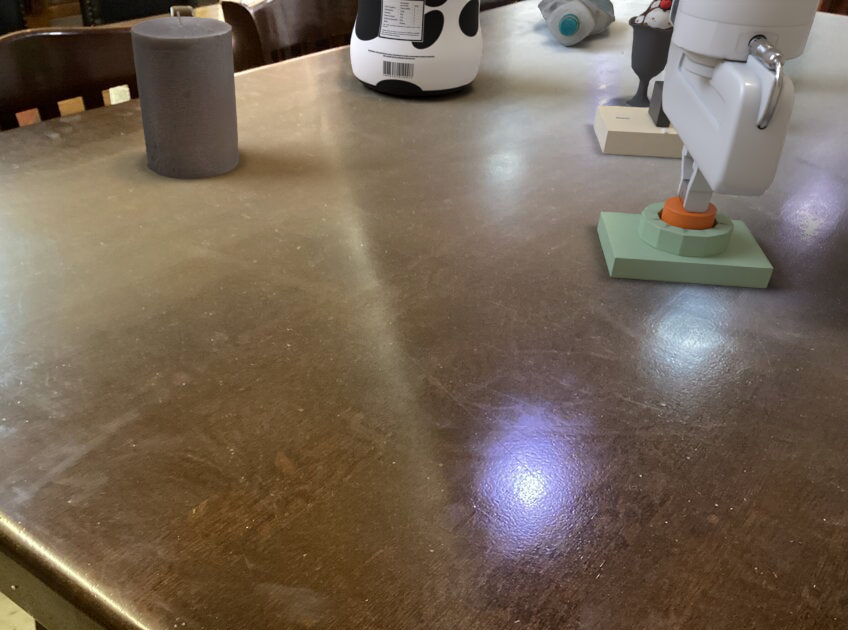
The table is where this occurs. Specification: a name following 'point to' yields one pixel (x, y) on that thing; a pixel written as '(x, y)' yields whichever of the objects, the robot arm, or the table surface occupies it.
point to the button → (687, 216)
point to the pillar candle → (187, 95)
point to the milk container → (416, 45)
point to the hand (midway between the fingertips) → (690, 205)
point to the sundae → (650, 46)
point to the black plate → (658, 106)
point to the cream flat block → (634, 133)
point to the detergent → (576, 18)
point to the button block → (682, 250)
